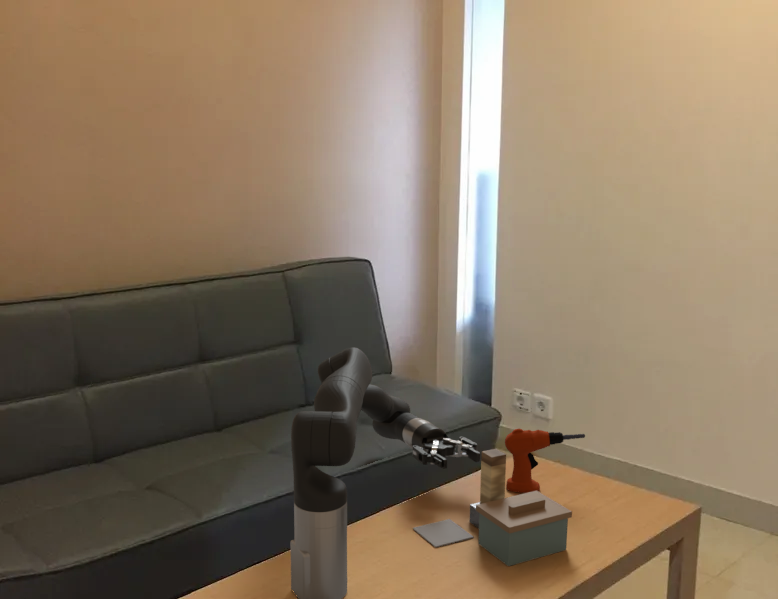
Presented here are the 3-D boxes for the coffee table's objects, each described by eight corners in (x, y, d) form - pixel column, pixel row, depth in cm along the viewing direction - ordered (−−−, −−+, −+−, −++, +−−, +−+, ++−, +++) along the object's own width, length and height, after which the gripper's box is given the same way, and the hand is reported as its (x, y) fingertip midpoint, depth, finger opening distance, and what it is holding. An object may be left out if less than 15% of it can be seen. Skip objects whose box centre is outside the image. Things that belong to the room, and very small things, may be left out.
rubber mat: (435, 547, 164) (435, 546, 164) (412, 529, 171) (412, 527, 171) (473, 537, 168) (473, 536, 168) (449, 520, 176) (449, 518, 176)
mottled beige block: (489, 530, 171) (491, 457, 168) (479, 523, 174) (481, 451, 171) (503, 527, 173) (506, 454, 170) (493, 520, 176) (495, 448, 173)
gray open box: (487, 535, 169) (488, 516, 168) (469, 522, 175) (469, 504, 174) (513, 528, 172) (514, 510, 171) (495, 515, 178) (495, 498, 177)
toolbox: (507, 568, 156) (509, 519, 154) (474, 543, 166) (476, 497, 164) (569, 550, 163) (572, 503, 161) (534, 527, 173) (536, 483, 171)
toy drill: (590, 489, 188) (585, 427, 185) (507, 496, 190) (501, 434, 187) (587, 481, 193) (582, 419, 190) (506, 487, 195) (500, 426, 192)
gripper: (398, 427, 191) (434, 450, 177) (450, 418, 198) (489, 439, 184) (398, 458, 193) (434, 483, 179) (449, 448, 200) (488, 471, 185)
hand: (462, 461), depth 181 cm, fingers open, 8 cm apart
